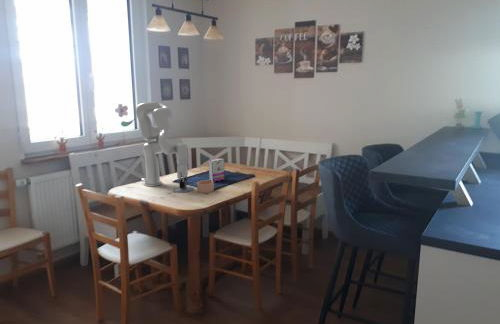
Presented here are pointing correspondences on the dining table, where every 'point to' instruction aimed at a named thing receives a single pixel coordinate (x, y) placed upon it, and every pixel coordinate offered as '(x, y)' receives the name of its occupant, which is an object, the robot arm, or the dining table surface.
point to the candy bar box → (216, 170)
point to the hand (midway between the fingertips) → (183, 186)
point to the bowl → (205, 186)
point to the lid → (185, 189)
